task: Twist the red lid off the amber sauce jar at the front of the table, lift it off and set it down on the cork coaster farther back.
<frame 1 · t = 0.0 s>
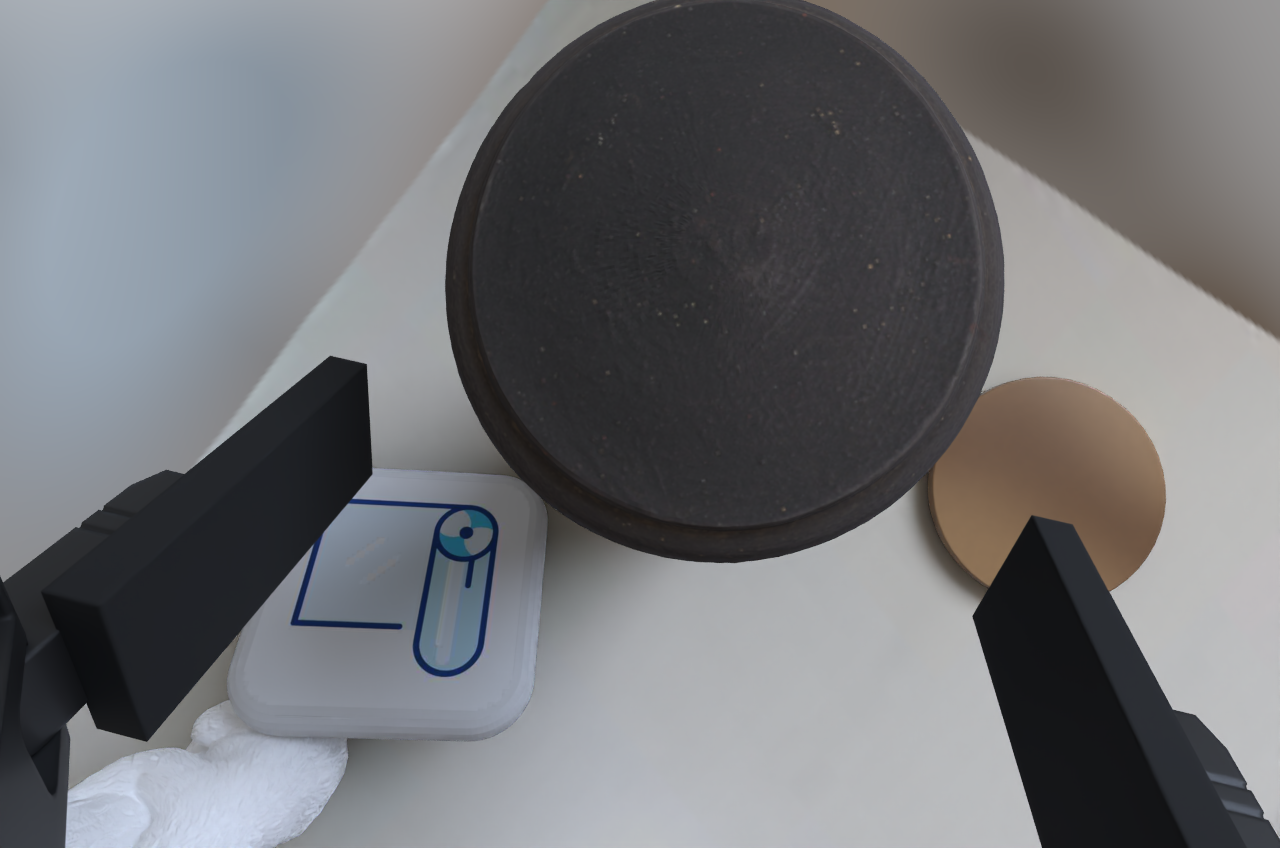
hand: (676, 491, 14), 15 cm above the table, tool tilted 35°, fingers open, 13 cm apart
coaster: (1040, 489, 29), on the table
koala figurine: (290, 737, 30), on the table, touching button
button: (428, 471, 29), point 1 cm above the table, touching koala figurine
container: (690, 401, 30), on the table
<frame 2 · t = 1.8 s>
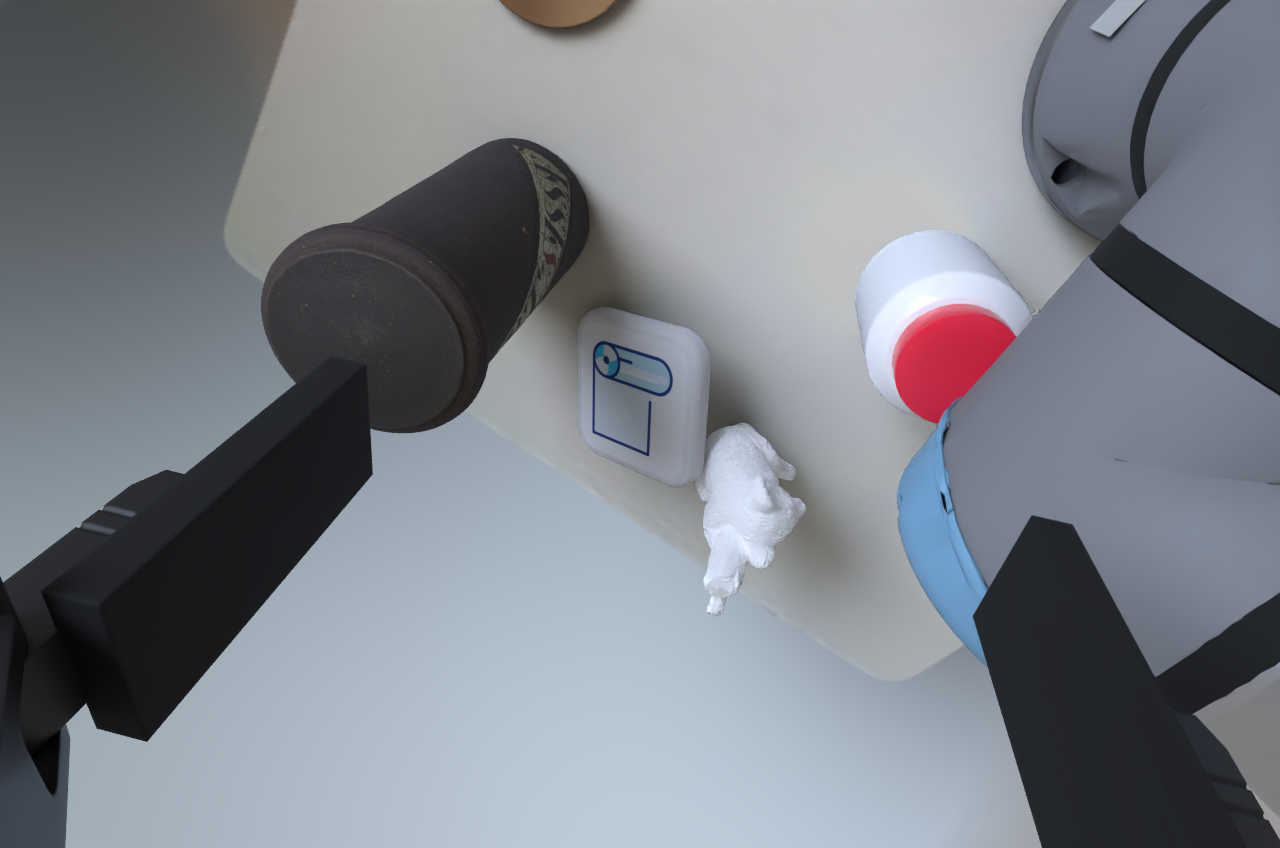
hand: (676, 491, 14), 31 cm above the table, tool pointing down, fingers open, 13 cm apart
pill bottle: (923, 295, 42), on the table, touching arm
koala figurine: (744, 450, 50), on the table, touching button
button: (581, 375, 48), point 1 cm above the table, touching koala figurine
container: (523, 208, 44), on the table
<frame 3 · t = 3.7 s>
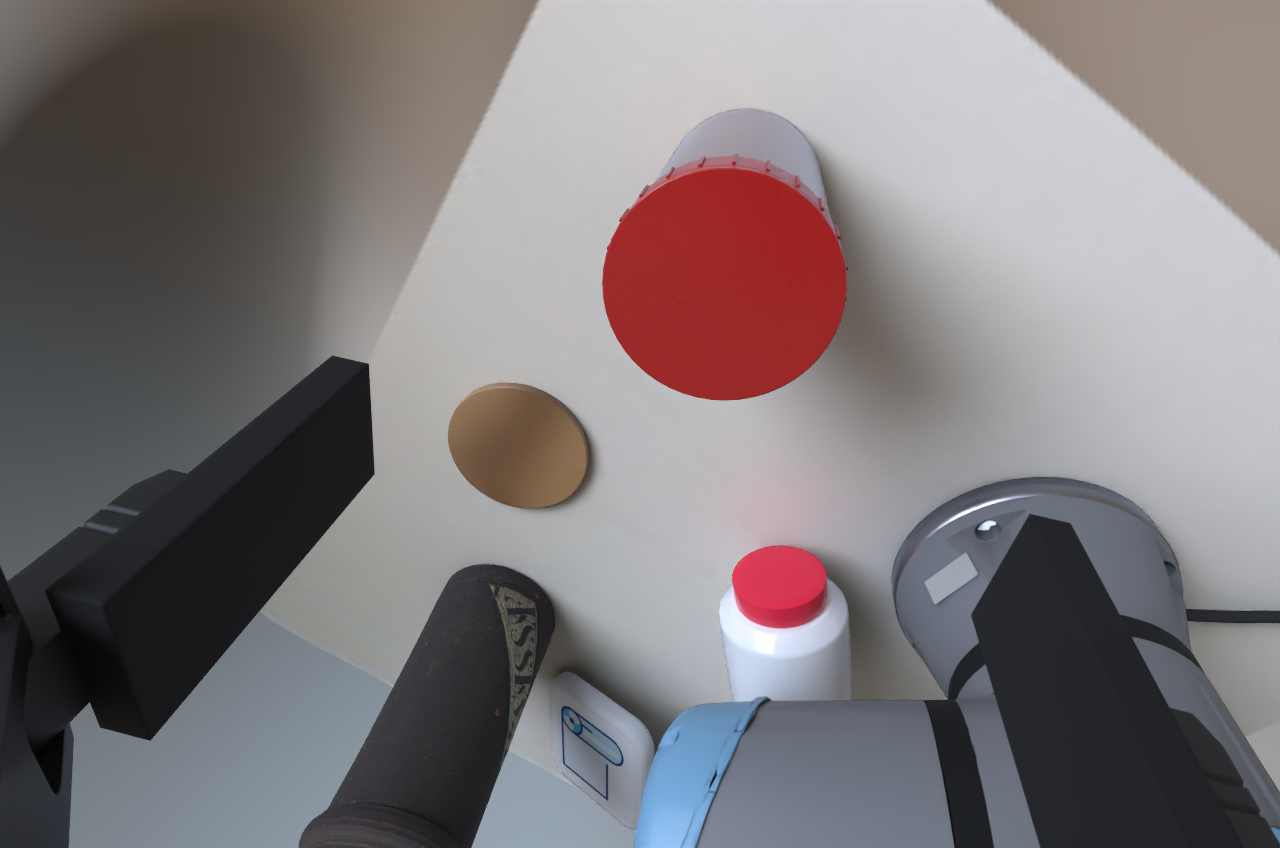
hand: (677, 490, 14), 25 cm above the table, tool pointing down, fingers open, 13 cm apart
jar lid: (721, 289, 24), point 14 cm above the table, screwed on, not yet turned
coaster: (519, 445, 45), on the table
pill bottle: (791, 703, 48), point 4 cm above the table
sauce jar: (742, 192, 35), on the table
button: (553, 713, 57), point 1 cm above the table, touching koala figurine
container: (501, 603, 53), on the table
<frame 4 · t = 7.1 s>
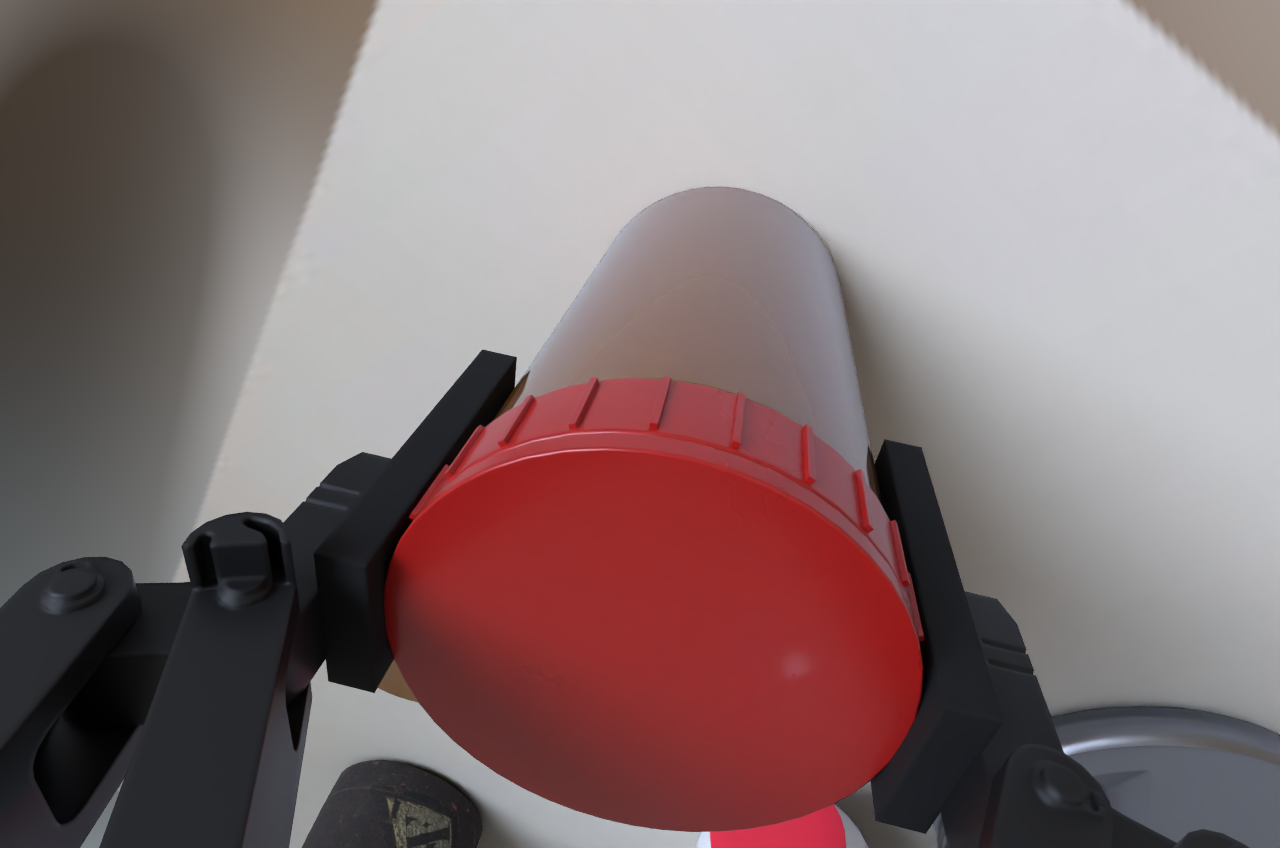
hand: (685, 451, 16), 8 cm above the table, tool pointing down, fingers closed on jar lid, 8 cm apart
jar lid: (642, 654, 11), point 14 cm above the table, screwed on, not yet turned, touching gripper
coaster: (415, 628, 33), on the table
sauce jar: (715, 311, 22), on the table
container: (412, 799, 41), on the table
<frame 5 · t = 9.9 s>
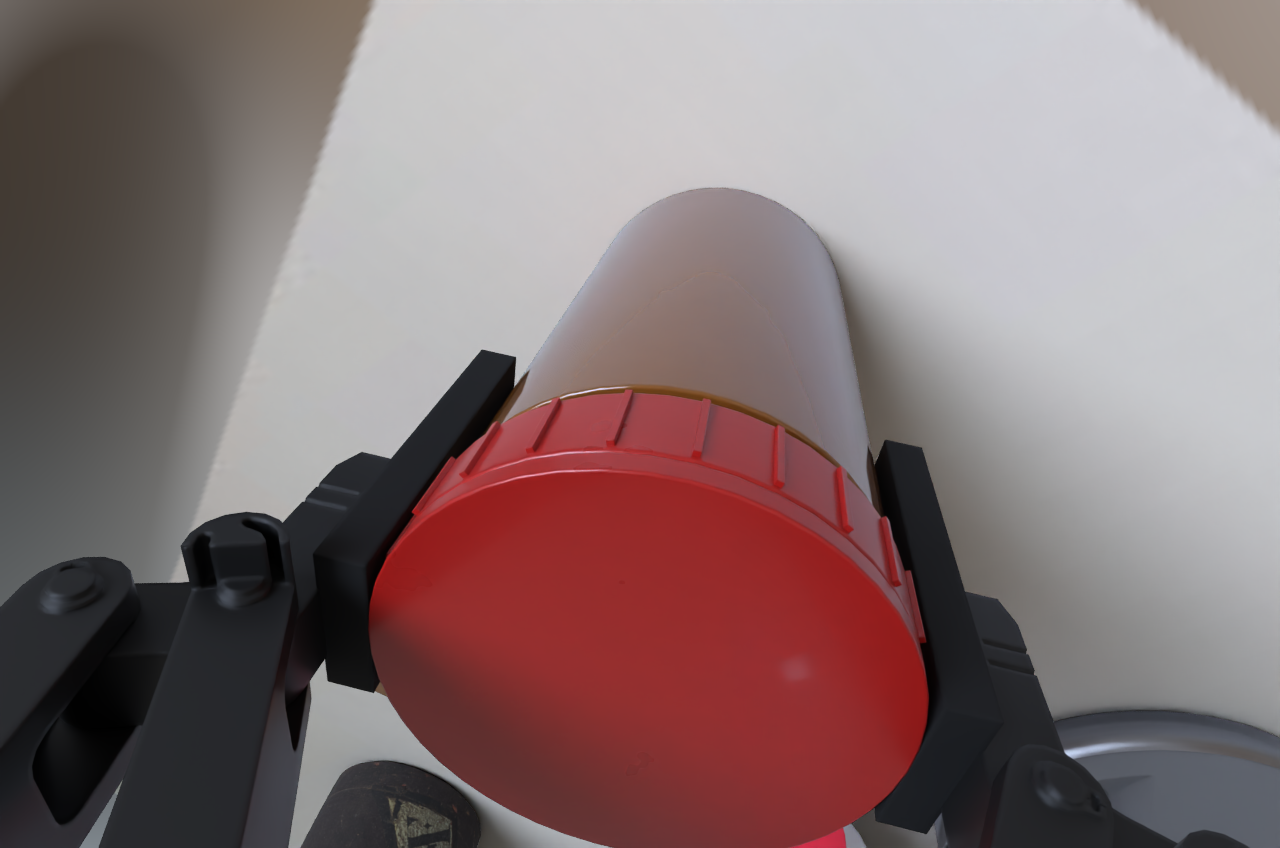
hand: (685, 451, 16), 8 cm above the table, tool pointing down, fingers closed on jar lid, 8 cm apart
jar lid: (637, 677, 11), point 14 cm above the table, turned 81° so far, risen 0.2 cm, still on its thread, touching gripper
sauce jar: (714, 313, 22), on the table
container: (410, 803, 40), on the table
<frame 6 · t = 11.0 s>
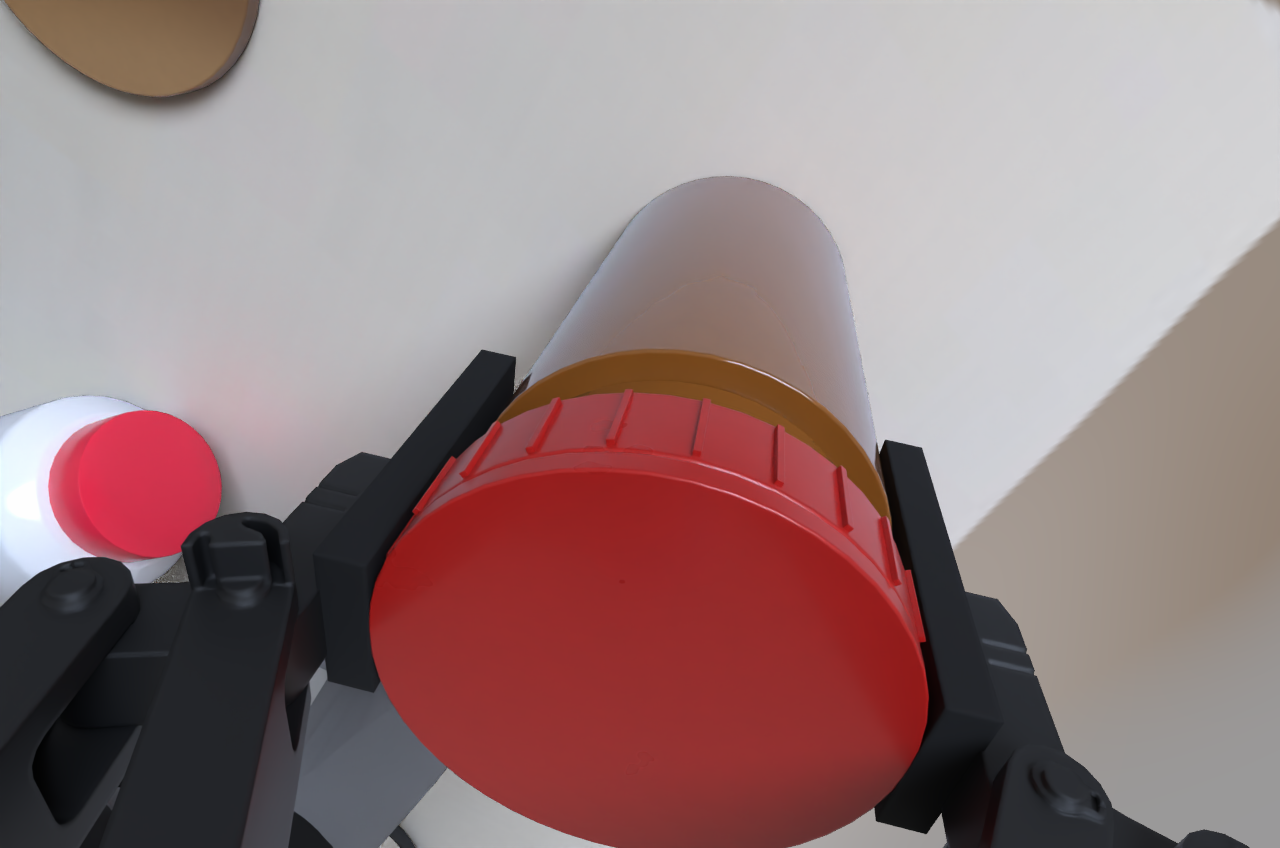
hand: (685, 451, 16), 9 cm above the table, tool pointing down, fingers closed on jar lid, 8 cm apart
jar lid: (637, 677, 11), point 15 cm above the table, off its thread, touching gripper
sauce jar: (723, 298, 23), on the table, touching gripper
when the fingers open (1 cm above the table, at t = 19.1 s): jar lid drops 5 cm, resting on coaster.
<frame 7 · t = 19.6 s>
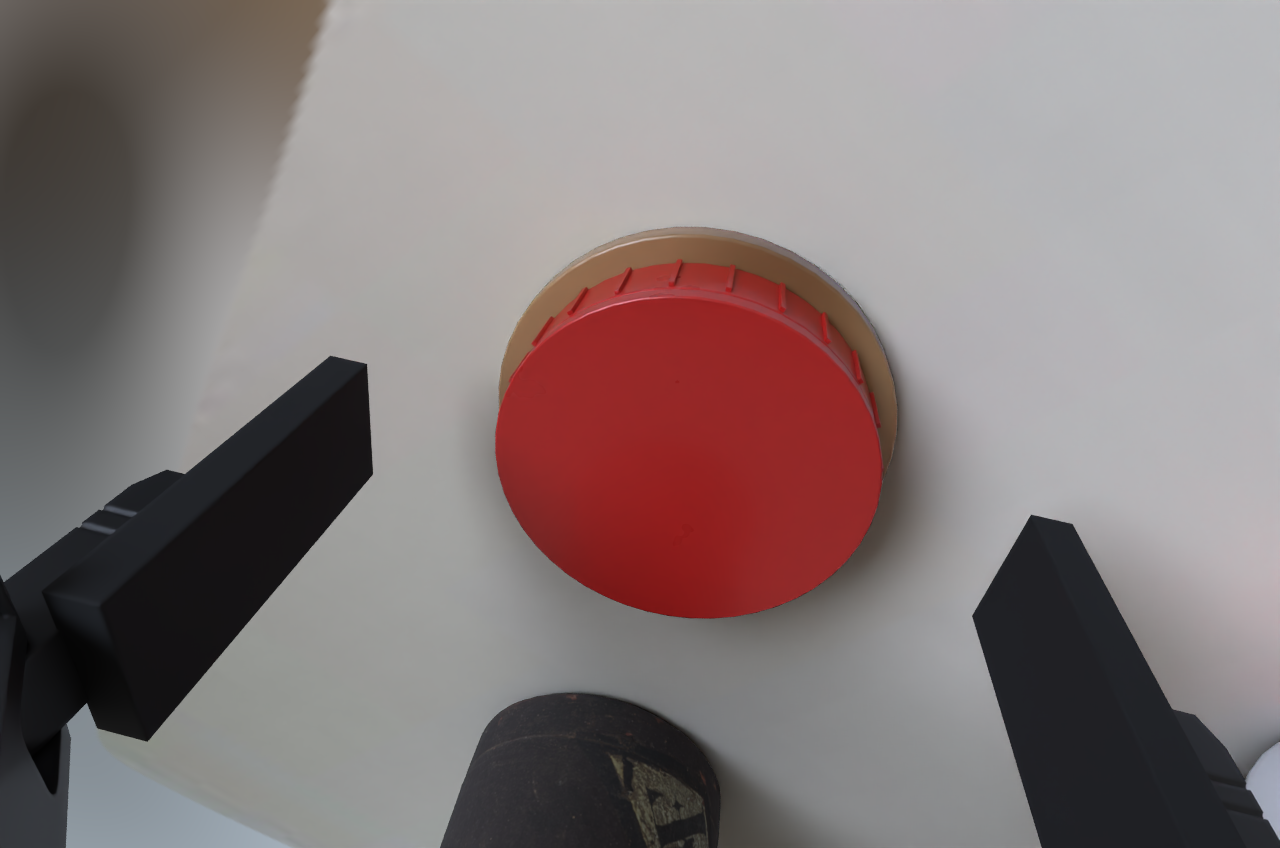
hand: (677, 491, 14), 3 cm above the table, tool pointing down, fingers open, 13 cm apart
jar lid: (682, 468, 15), point 2 cm above the table, off its thread, touching coaster
coaster: (691, 418, 17), on the table
container: (599, 766, 25), on the table
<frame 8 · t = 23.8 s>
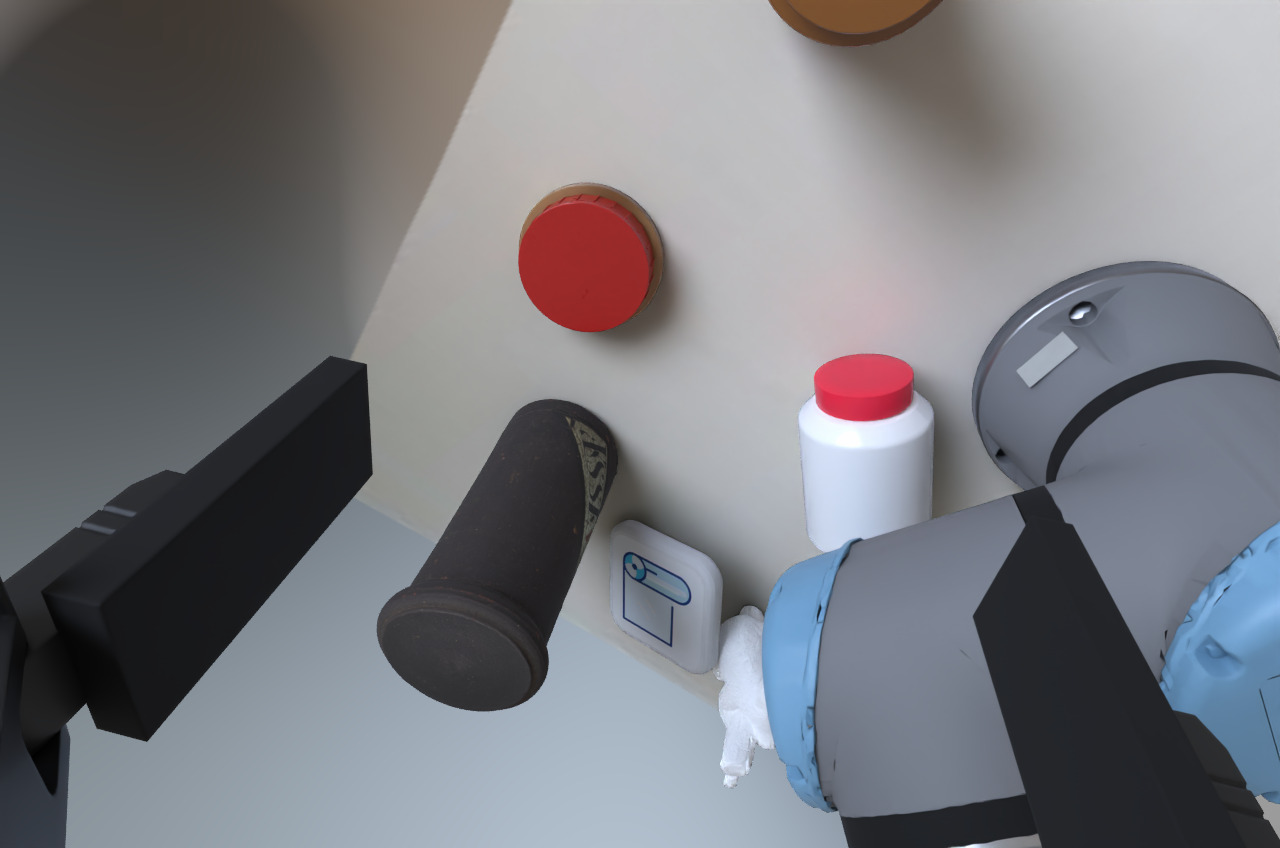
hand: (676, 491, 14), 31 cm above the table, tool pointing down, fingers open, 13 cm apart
jar lid: (584, 268, 43), point 2 cm above the table, off its thread, touching coaster
coaster: (591, 257, 44), on the table
pill bottle: (867, 528, 47), point 4 cm above the table
koala figurine: (752, 624, 58), on the table, touching button
button: (612, 568, 57), point 1 cm above the table, touching koala figurine
container: (563, 445, 52), on the table
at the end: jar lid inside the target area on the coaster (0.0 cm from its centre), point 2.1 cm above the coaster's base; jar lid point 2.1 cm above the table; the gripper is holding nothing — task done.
